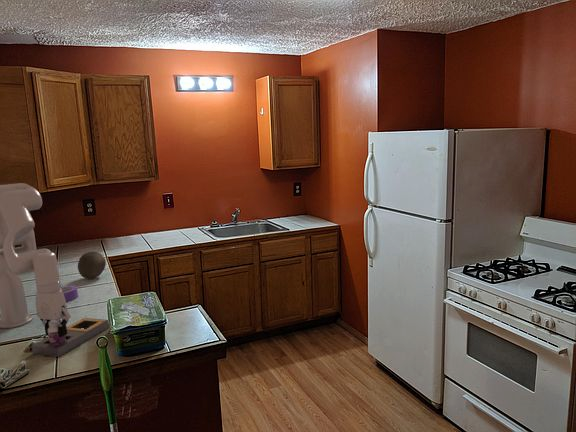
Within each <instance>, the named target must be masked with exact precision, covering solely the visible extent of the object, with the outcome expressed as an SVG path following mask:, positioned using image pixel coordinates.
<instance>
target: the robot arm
mask: <svg viewBox="0 0 576 432" xmlns="http://www.w3.org/2000/svg"><path fill="white" fill-rule="evenodd" d="M42 205H43V198H42V195H41V193H40V192H39V191H38V190H37V189H36V188H34V187H33V186H31V185H30V184H27V183H23V182H19V183H8V184H0V249H2V250H0V319H1V320H0V328H1V329H13V328H16V327H20V326H24V325H27V324H28V323H30V322H31V321H33V320H34V316H33V315H32V314H29V311H28V304H27V300H26V294H25V288H24V283H23V279H21V277H20V276H23V275H26V274H30V273H34V274H33V275H34V280H35V287H36V293H35V307H36V317H37V318H39V320H40V321H41V322H42V325H43V327H44V333H45V336H47V337H49V336H48V328H49V321H51V320H56V321H57V323H58V325H59V327H58V333H59V337H63V336H65V335H66V334H67V328H66V327H67V324H68V322H69V320H70V319H71V318H72V315H71V314H70V313H69V312H68V306H67V305H68V304H67V302H66V300H65V297H64V294H63V291H62V290H61V287H62V284H61V278H60V273H59V265H58V260H57V255H56V254H55V252H53V251H51V250H50V249H48V248H38V249H37V245H36V244H37V243H36V237H35V231H34V229H35V227H36V226H35V224H36V223H35V221H34V219H33V217H32V215H31V212H30V211H36V210H40V209H41V208H42ZM20 245H21V246H20ZM15 246H18V247H15ZM60 320H61V321H60Z"/></svg>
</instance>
